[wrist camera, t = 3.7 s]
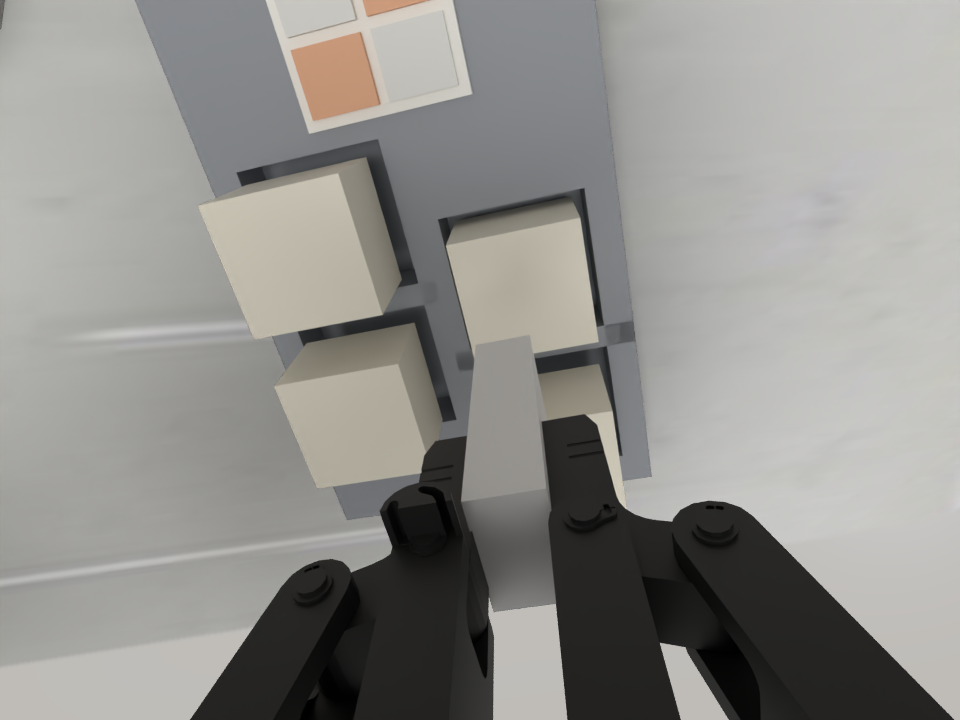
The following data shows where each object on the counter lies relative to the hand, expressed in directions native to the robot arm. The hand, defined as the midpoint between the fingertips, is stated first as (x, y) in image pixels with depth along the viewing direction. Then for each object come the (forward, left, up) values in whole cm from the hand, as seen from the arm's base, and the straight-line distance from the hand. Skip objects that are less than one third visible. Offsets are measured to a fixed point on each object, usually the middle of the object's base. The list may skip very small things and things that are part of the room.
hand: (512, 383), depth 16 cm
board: (-3, +1, -14) cm, 14 cm away
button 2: (-7, -4, -9) cm, 12 cm away
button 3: (0, 0, -11) cm, 11 cm away
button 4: (-7, +3, -9) cm, 12 cm away
